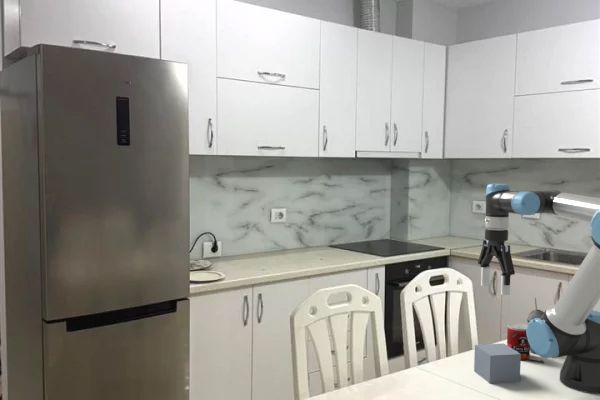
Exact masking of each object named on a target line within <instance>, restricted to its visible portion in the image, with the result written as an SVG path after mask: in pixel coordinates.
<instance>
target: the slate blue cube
mask: <svg viewBox="0 0 600 400" xmlns="http://www.w3.org/2000/svg"><path fill="white" fill-rule="evenodd" d="M473 358H474V363H473V364H474V365H473V371H474V372H475V373H476V374H477V375H478V376H480V377H481V378H482V379H483V380H485V381H486V382H487V383H489V384H497V383H499V384H500V383H513V382H514V383H515V382H517V383H518V382H519V383H520V382H521V362H522V360H521V354H520V353H518V352H517V351H515V350H513V349H512V348H510V347H509V346H507V344H505V343H502V342H501V343H484V344H482V343H481V344H474V357H473Z"/></svg>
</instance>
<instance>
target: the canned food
mask: <svg viewBox="0 0 600 400" xmlns="http://www.w3.org/2000/svg"><path fill="white" fill-rule="evenodd" d="M527 325H528V324H526V323H521V322H510V323H508V324H507V328H506V329H507V330H506V335H507V336H506V345H507V346H509V347H510V348H512V349H513V350H515V351H517V352H518V353H520V354H521V361H525V359H526V360H528V359H529V358H530V356H531V355H530V354H531V352H530V344H529V342H528V338H527V334H526V329H527Z"/></svg>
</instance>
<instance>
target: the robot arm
mask: <svg viewBox="0 0 600 400" xmlns="http://www.w3.org/2000/svg"><path fill="white" fill-rule="evenodd" d="M510 188H511V187H510V185H509V184H507V183H488V184H487V186H486V192H485V219H484V223H485V225H484V226H485V230H484V240H483V241H482V247H481V252H480V253H479V256H478V261H477V264H478V265H479V266H480V267H481V271H480V272H481V273H480V276H481V277H480V286H481V287H488V286H490V271H491V270H490V267H491V262H492V260H493V258H495V259H497V261H498V264H499V267H500V269H501V272H502V273H501V274H500V275H501V277H500V279H501V280H500V281H501V282H500V295H502V296H504V295H505V296H507V295H508V296H509V295H510V293H511V292H510V291H511V276H513V275H515V273H516V272H515V268H514V267H515V266H514V262H513V259H512V254H511V246H510V244H508V245H506V244H505V242H506V241H508V239H509V230H508V229H509V228H510V227H509V224H510V223H509V220H510V216H509V215H510V214H514V215H515V214H517V215H520V216H531V215H534V214H550V215H555V216H561V217H565V218H571V219H575V220H579V221H584V222H589V223H590V227H591V229H590V234H591V236H590V242H591V244H592V246H591V248H590V249H589V251H588V252H587V254H586V256H585V257H584V259H583V261H581V263H580V265H579V267H578V269H577V270H576V272H575V273H574V275H573V276H572V278H571V280H570V281H569V283H568V284H567V286H566V288H565V289H564V291H563V293H562V294H561V296H560V297H559V298H558V301H556V303H555V304H551V305H548V306H547V307H546V309H545V311H543V312H544V314H543V315H542V317H541V318H535V319H533V320H531V321H530V322H529V323H528V322H527V324H526V325H527V329H526V334H527V338H528V342H529V344H530V346H531V348H532V349H533V351H534V352H535V353H536V354H535V355H538V356H539V357H541V358H544V359H557V358H560V357H562V358H563V357H565V359H564V362H563V364H562V367H561V369H560V372H559V381H560V383H562V384H563V385H564V386H566V387H569V388H570V389H573V390H577V391H580V392H584V393H590V394H600V311H597V310H594V308H595V307H596V306H597V304H598V303H599V301H600V198H599V197H593V196H587V195H580V194H575V193H573V194H572V193H568V192H567V193H566V192H565V191H564V190H563V191H562V190H557V189H556V190H555V189H553V190H511V189H510Z"/></svg>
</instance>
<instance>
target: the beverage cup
mask: <svg viewBox="0 0 600 400" xmlns="http://www.w3.org/2000/svg"><path fill="white" fill-rule="evenodd" d="M537 305H538V304H537V298H536V297H534V307H535V308H534V309H533V310H531V311H530V312H529V314H528V315H527V319H526V321H527V324H528V323H529V322H530V321H531V320H533V319H535V318H541V317H542V315H543V314H544V312H545V311H544V310H541V309H538V306H537ZM530 354H534V355H537V354H536V353H535V352H534V351H533V349H532V348H531V346H530Z"/></svg>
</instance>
